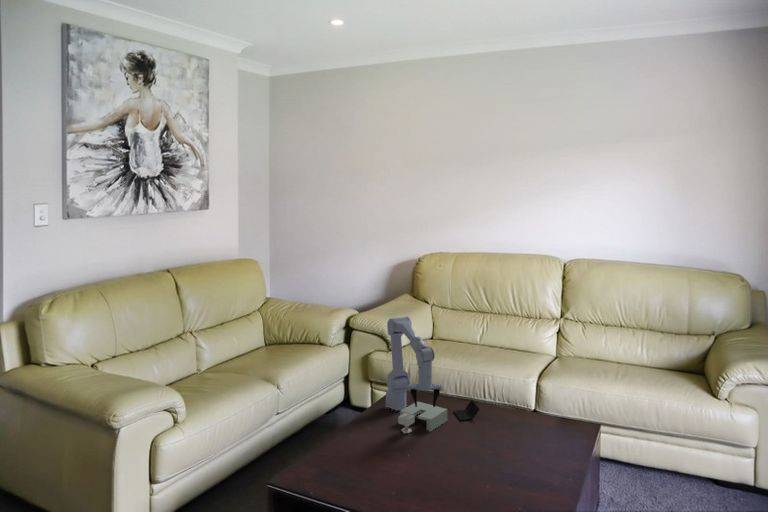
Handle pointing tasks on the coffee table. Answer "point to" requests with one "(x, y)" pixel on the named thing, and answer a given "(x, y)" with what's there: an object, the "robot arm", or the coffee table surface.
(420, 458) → the coffee table surface
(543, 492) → the coffee table surface
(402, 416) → the peg
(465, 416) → the handheld gaming console
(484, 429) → the coffee table surface
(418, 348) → the robot arm
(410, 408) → the slot bracket
